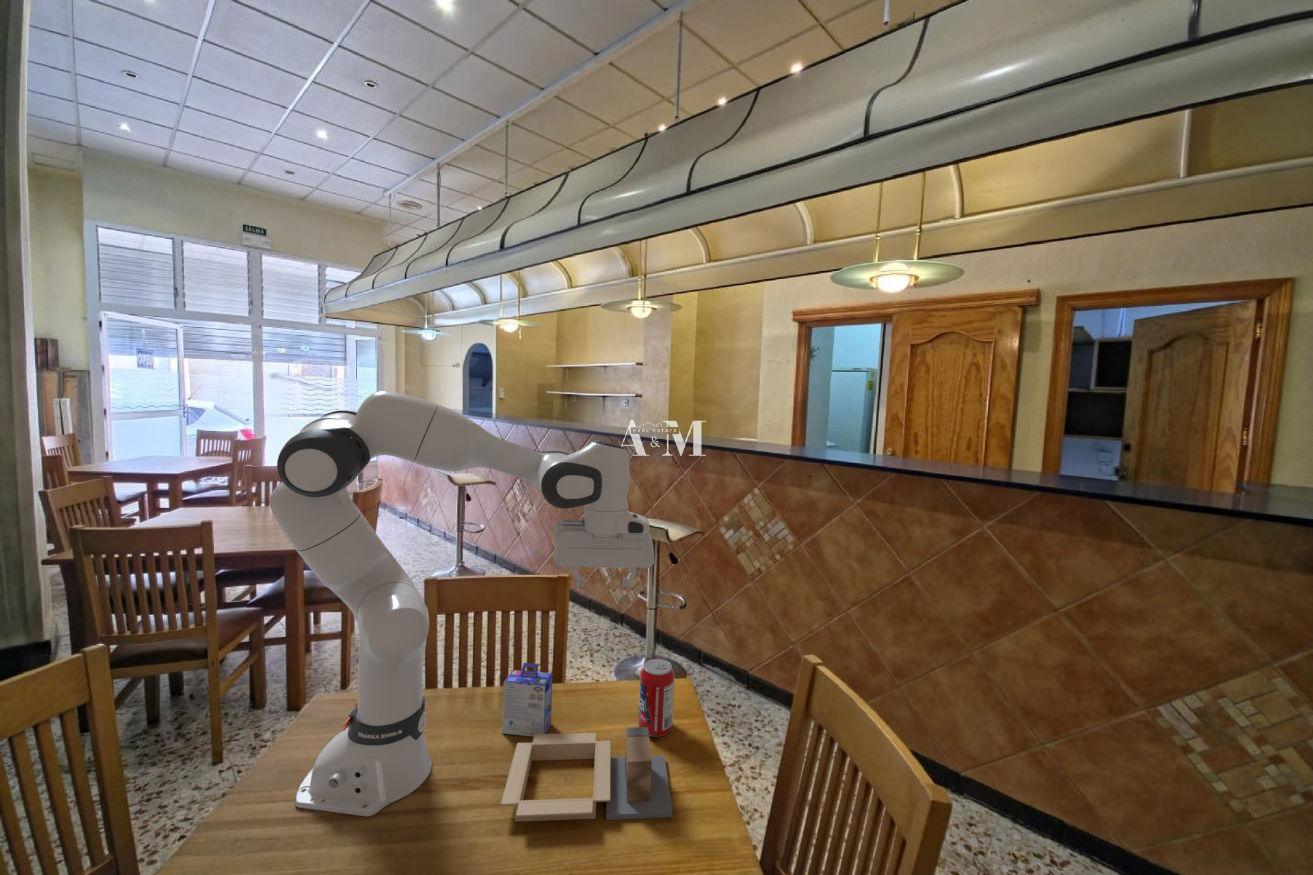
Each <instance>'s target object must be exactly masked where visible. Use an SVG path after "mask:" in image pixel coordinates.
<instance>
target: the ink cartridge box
mask: <svg viewBox="0 0 1313 875" xmlns="http://www.w3.org/2000/svg"><path fill="white" fill-rule="evenodd" d="M526 668H533V669H534V670H526ZM502 693H503V694H502V695H503V699H502V731H501V733H502V734H504V735H505V734H507V735H514V736H515V735H516V736H524V737H533V738H534V734H547V733H548V730H549V729H550V727H551V726H552V706H553V705H552V704H553V703H552V702H553V672H552V673H551V672H541V671H539V664H538V663H529V662H523V665H522V669H521V670H517V669H512V671H510V673H509V674H508V676H507V677H506V678H505V680H504V681H503V692H502Z"/></svg>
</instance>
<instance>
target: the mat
mask: <svg viewBox="0 0 1313 875" xmlns="http://www.w3.org/2000/svg"><path fill="white" fill-rule="evenodd" d="M651 757H652V771H651V795H650V801H647V802H627V800H626V773H625V758H626V756H610V801H606V804H605V806H606V807H605V810H606V811H605V812H606V814H605V820H606V821H610V820H611V821H612V820H636V819H639V820H641V819H659V818H663V819H664V818H673V813H674V811H673V805H672V798H671V792H670V785H669V778H668V771H667V764H666V757H665V755H651Z"/></svg>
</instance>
